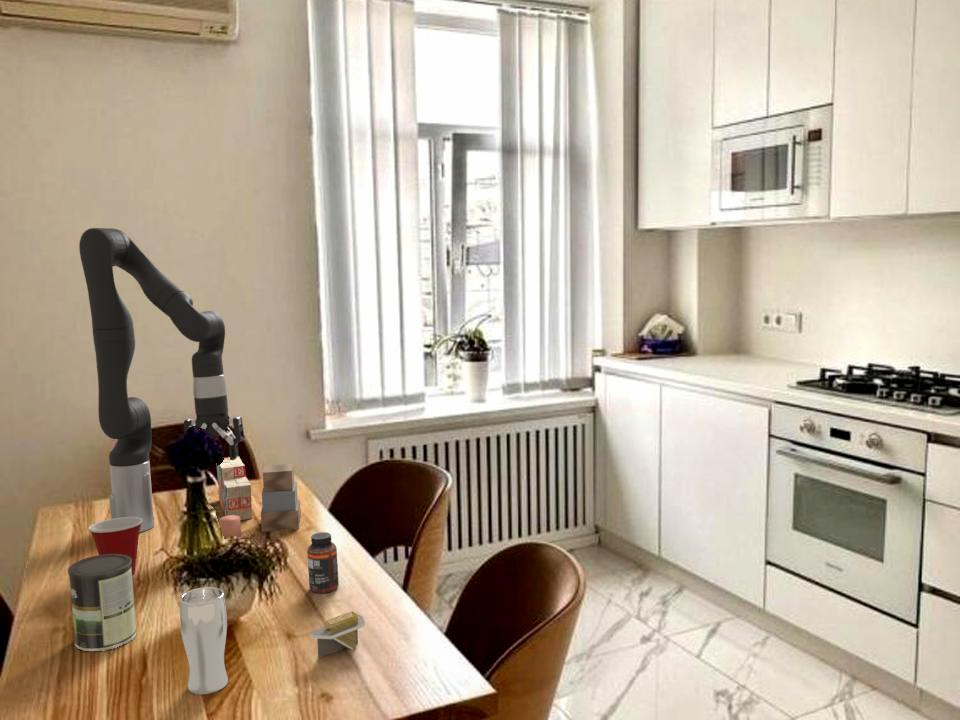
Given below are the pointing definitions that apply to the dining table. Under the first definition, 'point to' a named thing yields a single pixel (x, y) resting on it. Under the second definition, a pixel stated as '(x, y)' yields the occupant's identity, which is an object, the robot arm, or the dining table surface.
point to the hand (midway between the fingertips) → (216, 460)
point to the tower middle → (280, 500)
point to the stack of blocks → (234, 488)
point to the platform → (338, 634)
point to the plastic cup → (117, 537)
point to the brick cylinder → (230, 526)
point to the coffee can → (102, 602)
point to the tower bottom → (281, 519)
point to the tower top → (278, 477)
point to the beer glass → (204, 638)
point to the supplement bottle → (322, 563)
